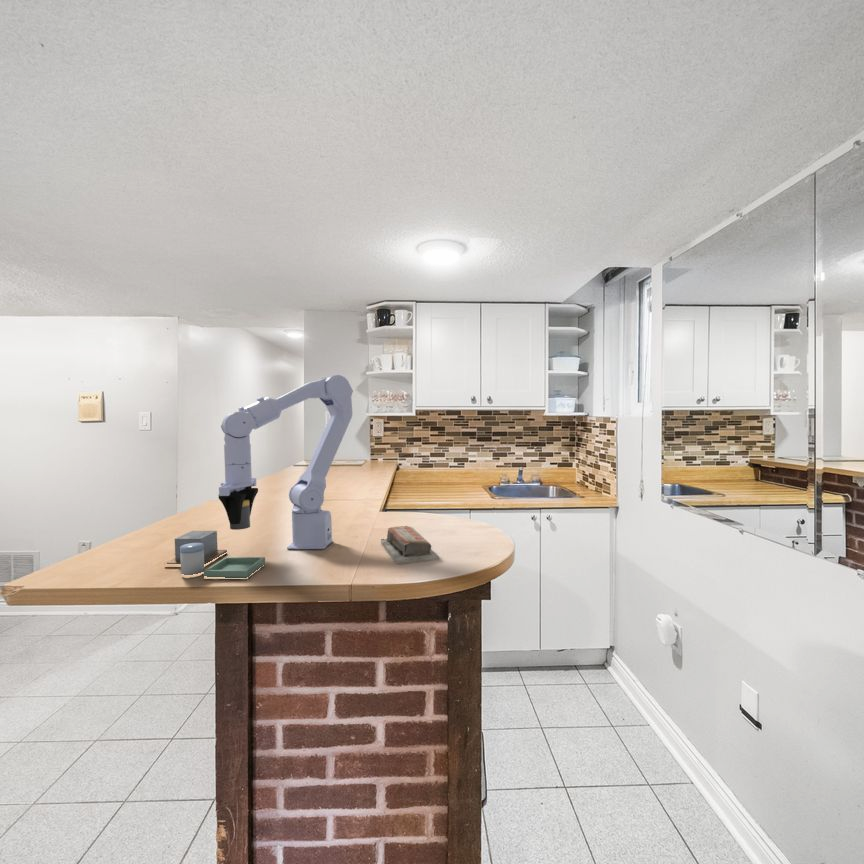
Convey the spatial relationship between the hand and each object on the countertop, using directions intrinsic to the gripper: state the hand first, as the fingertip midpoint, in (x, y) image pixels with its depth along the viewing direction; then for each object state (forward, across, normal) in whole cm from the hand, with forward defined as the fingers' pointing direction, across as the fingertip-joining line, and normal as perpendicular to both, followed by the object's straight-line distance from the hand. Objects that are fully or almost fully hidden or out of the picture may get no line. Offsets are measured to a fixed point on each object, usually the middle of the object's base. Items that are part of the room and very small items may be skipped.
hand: (240, 521), depth 109 cm
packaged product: (+9, -4, +39) cm, 40 cm away
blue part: (+8, +12, -4) cm, 16 cm away
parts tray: (+8, +11, +4) cm, 14 cm away
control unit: (+8, +3, -9) cm, 13 cm away
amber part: (+1, 0, 0) cm, 1 cm away
